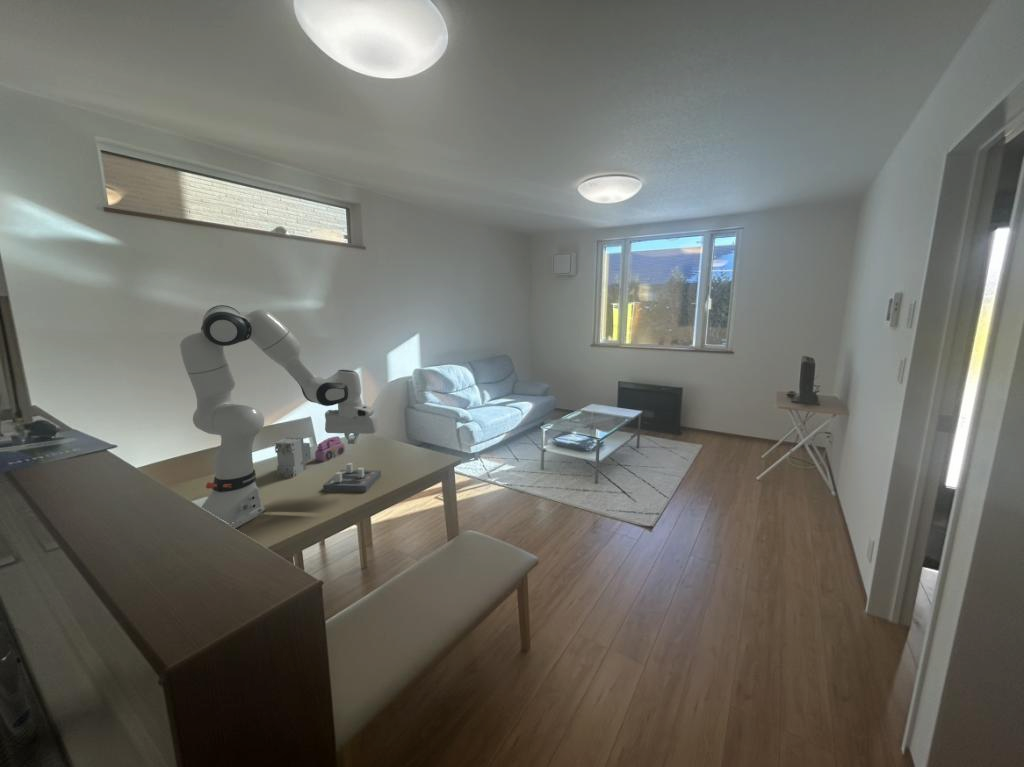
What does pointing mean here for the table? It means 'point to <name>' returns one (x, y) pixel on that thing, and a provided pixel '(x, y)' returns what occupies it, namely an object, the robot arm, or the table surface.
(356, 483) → the panel
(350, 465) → the breaker far
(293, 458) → the circuit breaker
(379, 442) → the table surface
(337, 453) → the pink toy car
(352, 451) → the table surface
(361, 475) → the breaker mid
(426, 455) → the table surface
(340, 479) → the breaker near
